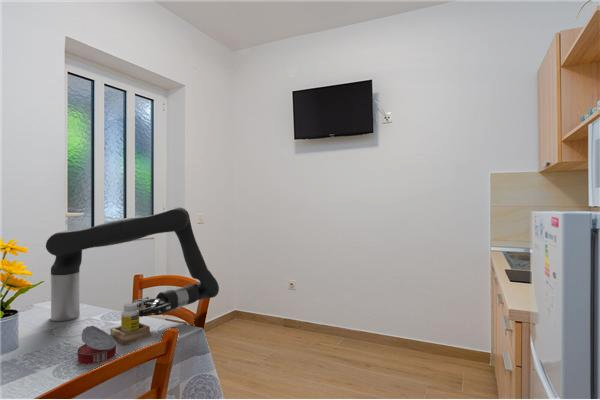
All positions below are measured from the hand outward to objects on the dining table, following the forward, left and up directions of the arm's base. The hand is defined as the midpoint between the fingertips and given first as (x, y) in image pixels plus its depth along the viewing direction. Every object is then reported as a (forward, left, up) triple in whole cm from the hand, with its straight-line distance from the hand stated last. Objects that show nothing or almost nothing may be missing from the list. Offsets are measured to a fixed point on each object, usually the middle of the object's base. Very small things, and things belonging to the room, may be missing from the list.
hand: (131, 311), depth 119 cm
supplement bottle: (0, 0, -7) cm, 8 cm away
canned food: (+5, -14, -9) cm, 17 cm away
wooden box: (0, -1, -8) cm, 9 cm away
